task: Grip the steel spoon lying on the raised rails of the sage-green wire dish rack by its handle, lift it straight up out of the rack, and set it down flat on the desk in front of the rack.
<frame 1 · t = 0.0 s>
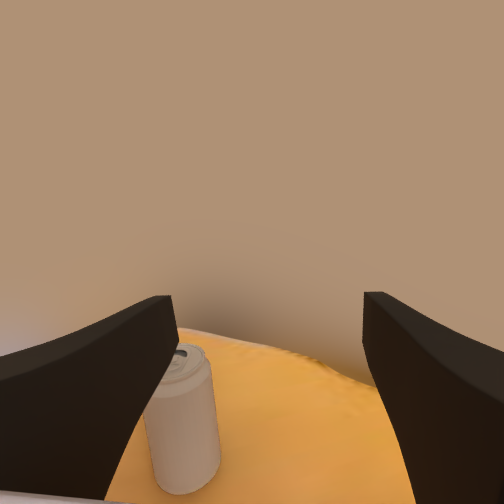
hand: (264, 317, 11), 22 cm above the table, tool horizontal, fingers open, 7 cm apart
beverage can: (189, 469, 29), on the table
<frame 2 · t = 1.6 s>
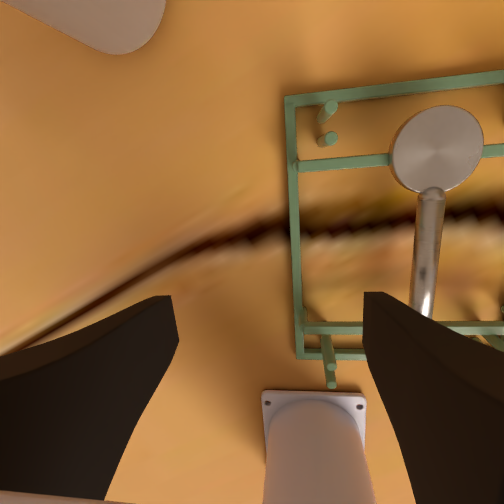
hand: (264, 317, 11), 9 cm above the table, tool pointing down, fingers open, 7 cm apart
rack: (404, 238, 19), on the table
spoon: (421, 251, 16), point 3 cm above the table, touching rack
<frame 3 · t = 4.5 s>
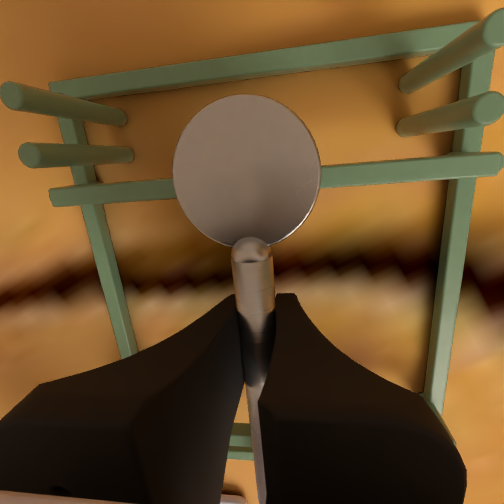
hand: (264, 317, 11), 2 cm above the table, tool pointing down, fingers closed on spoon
rack: (268, 297, 12), on the table
spoon: (261, 333, 10), point 3 cm above the table, touching gripper, rack
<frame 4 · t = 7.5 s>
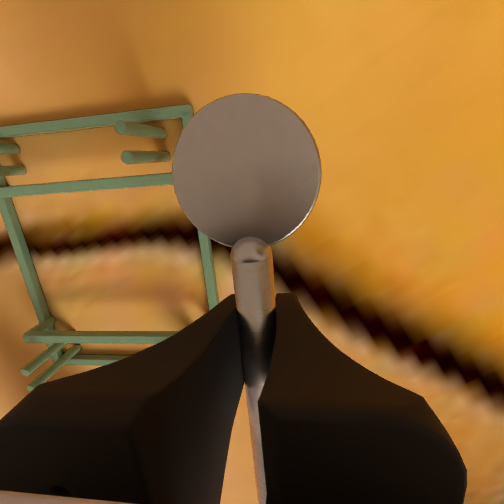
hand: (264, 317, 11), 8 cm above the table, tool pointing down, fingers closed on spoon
rack: (113, 256, 20), on the table
spoon: (261, 333, 10), point 9 cm above the table, touching gripper
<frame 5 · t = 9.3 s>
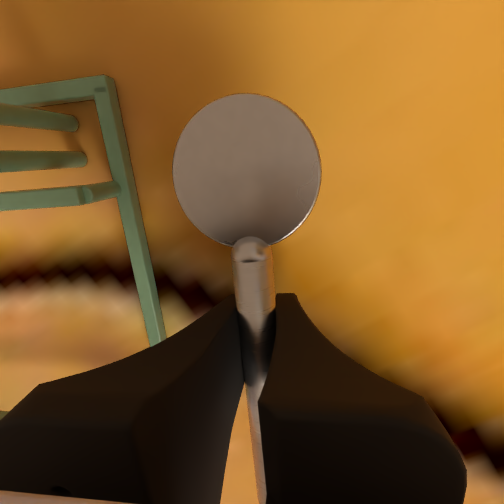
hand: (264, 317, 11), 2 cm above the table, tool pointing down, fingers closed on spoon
rack: (21, 301, 14), on the table
spoon: (261, 332, 10), point 3 cm above the table, touching gripper
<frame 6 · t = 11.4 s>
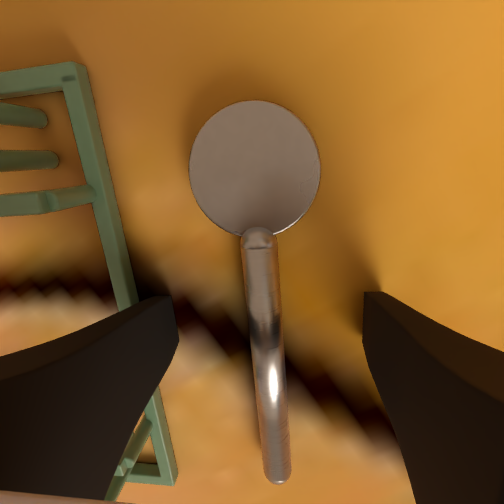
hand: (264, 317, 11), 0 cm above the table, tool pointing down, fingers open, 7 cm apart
spoon: (266, 315, 11), on the table
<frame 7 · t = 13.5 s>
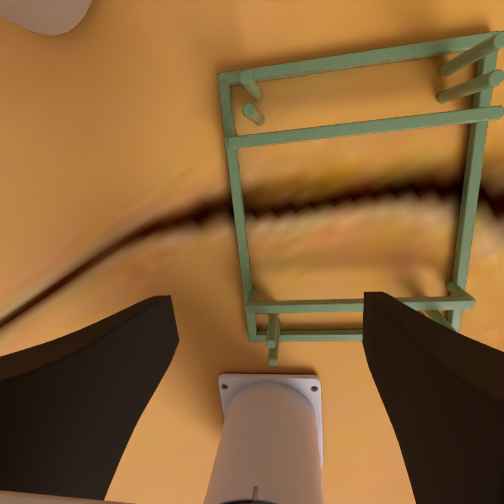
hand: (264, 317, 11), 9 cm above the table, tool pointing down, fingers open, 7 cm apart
rack: (346, 216, 19), on the table
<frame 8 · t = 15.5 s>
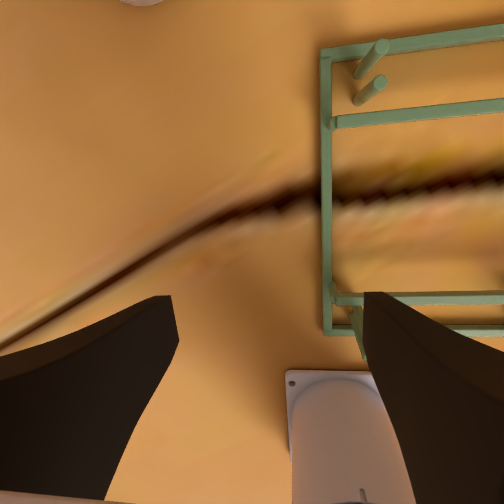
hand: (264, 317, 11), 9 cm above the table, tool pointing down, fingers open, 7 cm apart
rack: (442, 205, 18), on the table
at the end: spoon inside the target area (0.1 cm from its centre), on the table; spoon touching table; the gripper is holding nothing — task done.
